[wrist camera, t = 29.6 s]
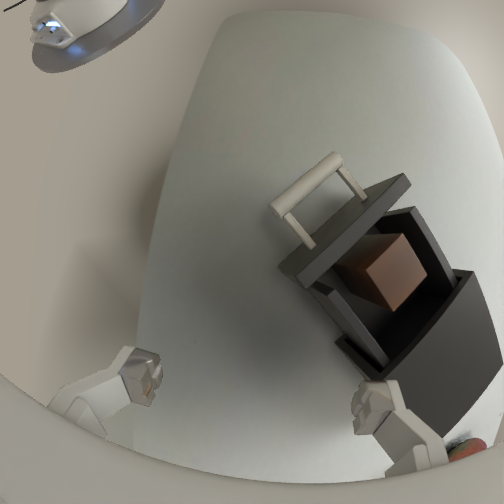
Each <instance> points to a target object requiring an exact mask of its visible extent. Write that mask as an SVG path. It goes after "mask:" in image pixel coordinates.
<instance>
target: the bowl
mask: <svg viewBox="0 0 504 504" xmlns="http://www.w3.org/2000/svg"><path fill="white" fill-rule="evenodd" d="M486 448H487V445H486V443H485V442H484V441H483V440H481V439H479V438H472V439H468V440H466V441H464V442H462V443H461V444H459V445H458V446H456V447H455V448H454V449H453V450H452V451H451V452H450V453H449V454H448V455H447V456H448V459H449V462H453V461H456V460H459V459H461V458H464V457H467V456H470V455H472V454H475V453H477V452H480V451H482V450H485V449H486Z"/></svg>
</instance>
